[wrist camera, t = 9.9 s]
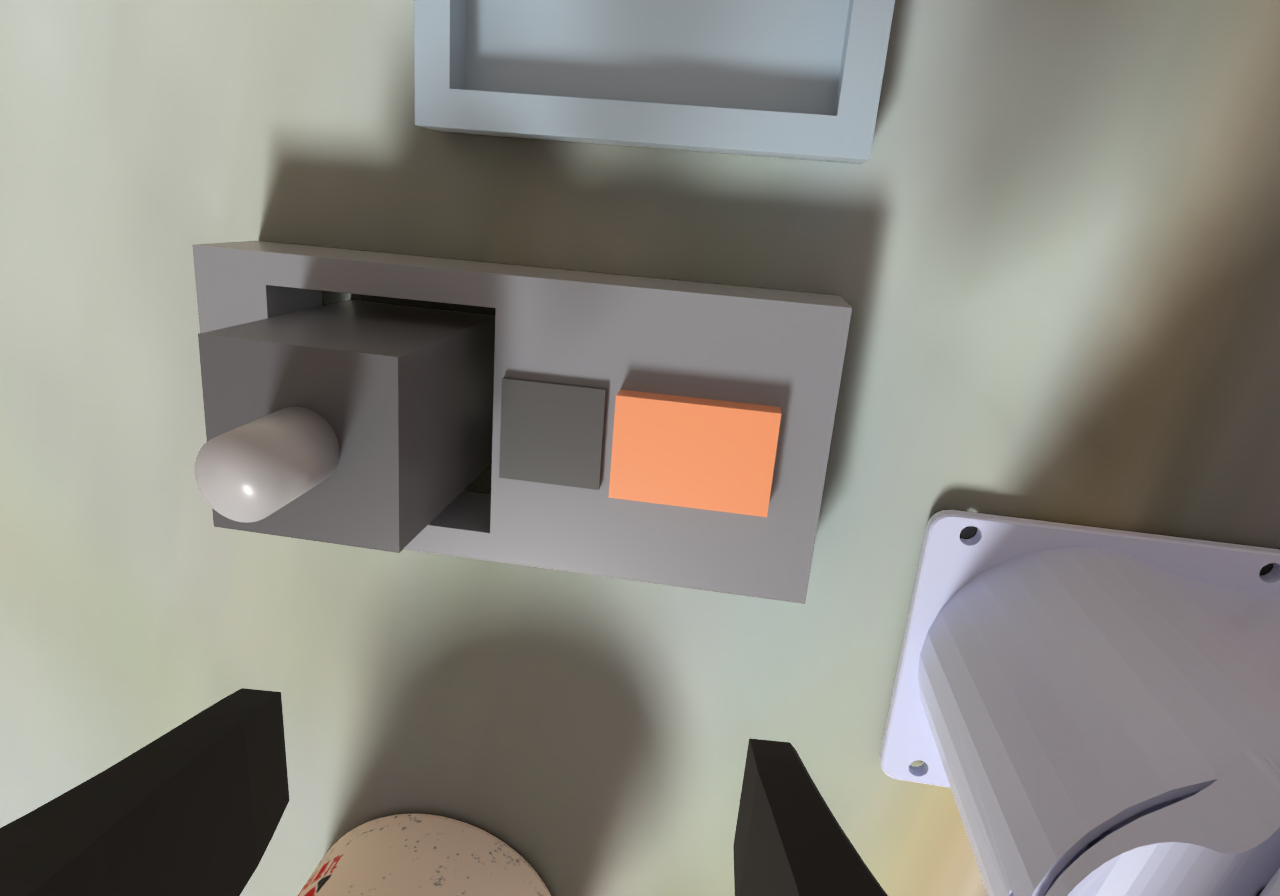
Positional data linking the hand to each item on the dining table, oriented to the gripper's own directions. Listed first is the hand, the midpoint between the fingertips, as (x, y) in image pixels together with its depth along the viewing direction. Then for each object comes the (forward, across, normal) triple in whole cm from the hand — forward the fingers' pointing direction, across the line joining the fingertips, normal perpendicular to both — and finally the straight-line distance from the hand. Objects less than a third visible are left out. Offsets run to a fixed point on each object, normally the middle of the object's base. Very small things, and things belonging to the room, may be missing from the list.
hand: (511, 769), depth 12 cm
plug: (+10, +5, -3) cm, 12 cm away
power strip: (+10, +2, -3) cm, 11 cm away
